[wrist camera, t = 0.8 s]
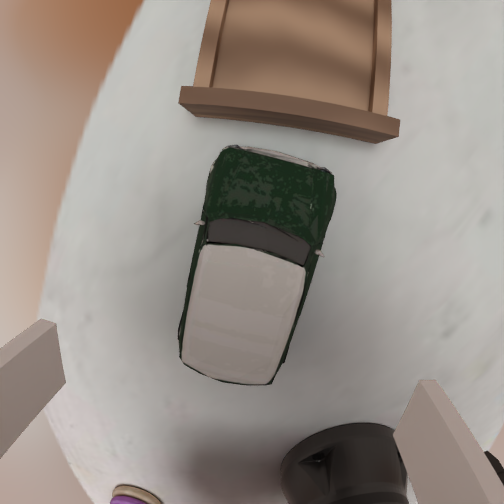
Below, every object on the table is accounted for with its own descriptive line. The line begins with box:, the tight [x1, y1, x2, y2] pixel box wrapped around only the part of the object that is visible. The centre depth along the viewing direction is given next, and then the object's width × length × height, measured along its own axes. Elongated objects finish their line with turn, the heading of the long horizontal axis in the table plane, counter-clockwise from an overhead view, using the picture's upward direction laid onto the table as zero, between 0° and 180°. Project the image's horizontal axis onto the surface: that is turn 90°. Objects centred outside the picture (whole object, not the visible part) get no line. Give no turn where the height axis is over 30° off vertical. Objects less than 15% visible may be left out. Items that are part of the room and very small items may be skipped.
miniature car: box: [178, 145, 336, 385], centre depth 22 cm, size 9×18×8 cm, turn 166°
